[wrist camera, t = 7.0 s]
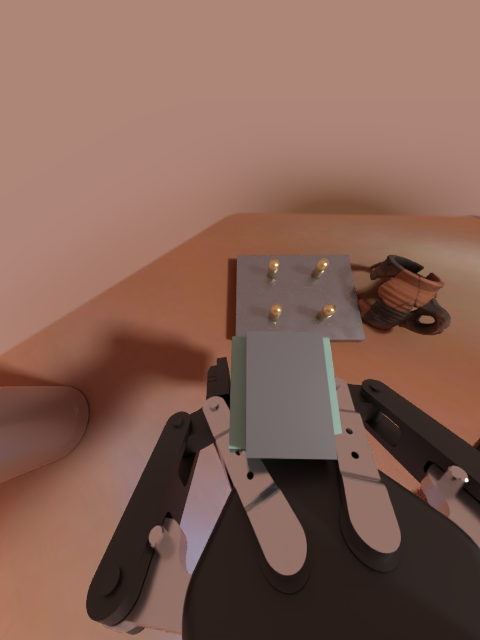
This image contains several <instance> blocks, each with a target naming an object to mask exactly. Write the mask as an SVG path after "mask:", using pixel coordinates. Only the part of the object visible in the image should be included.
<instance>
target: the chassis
mask: <svg viewBox="0 0 480 640" xmlns="http://www.w3.org/2000/svg"><path fill="white" fill-rule="evenodd" d="M246 331H287V332H322V336H323V337H324V338H329V339H330V342H361V341H363V340H365V335H364V330H363V325H362V320H361V315H360V310H359V305H358V300H357V295H356V290H355V285H354V280H353V275H352V270H351V265H350V260H349V255H237V288H236V336H246Z"/></svg>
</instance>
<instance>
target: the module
mask: <svg viewBox="0 0 480 640" xmlns="http://www.w3.org/2000/svg"><path fill="white" fill-rule="evenodd" d="M337 434H342V430H341V422H340V415H339V407H338V400H337V392H336V385H335V377H334V369H333V362H332V354H331V347H330V339H329V338H324V337H323V336H322V332H287V331H246V336H232V355H231V390H230V425H229V449H245V451H246V458H281V459H336V460H338V459H337V451H336V443H335V435H337Z"/></svg>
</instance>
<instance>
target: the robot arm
mask: <svg viewBox="0 0 480 640" xmlns="http://www.w3.org/2000/svg"><path fill="white" fill-rule="evenodd" d="M334 377H335V376H334ZM335 385H336V392H337V400H338V407H339V415H340V422H341V430H342V434H337V435H335V443H336V451H337V459H338V460H336V459H281V458H246V451H245V449H229V425H230V390H231V381H230V374H229V368H228V363H227V358H226V357H223V358H217V366H211V367H210V369H209V370H208V378H207V396H206V401H205V403H204V404H203V407H202V408H201V409H199V410H198V411H196V412H194V413H192V414H190V415H189V414H188V413H186V412H178V413H175V414H174V415H172V416H171V417H170V418H169V419H168V421H167V423H166V425H165V427H164V429H163V431H162V433H161V435H160V438H159V440H158V442H157V444H156V446H155V448H154V450H153V452H152V454H151V457H150V459H149V461H148V463H147V465H146V467H145V469H144V471H143V473H142V476H141V478H140V480H139V482H138V484H137V486H136V488H135V490H134V492H133V495H132V497H131V499H130V501H129V503H128V505H127V507H126V509H125V512H124V514H123V516H122V518H121V520H120V522H119V524H118V526H117V528H116V531H115V533H114V535H113V537H112V539H111V541H110V543H109V545H108V547H107V550H106V552H105V554H104V556H103V558H102V560H101V562H100V564H99V566H98V569H97V571H96V573H95V575H94V577H93V579H92V582H91V584H90V587H89V590H88V594H87V601H86V608H87V613H88V615H89V617H90V618H91V619H92V620H94V621H97V622H99V623H101V624H102V625H103V626H104V627H106V628H108V629H111V630H114V631H116V632H119V633H128V634H132V635H133V634H137V633H139V632H141V631H142V630H143V629H144V628H150V629H155V630H160V631H165V632H170V633H175V634H180V635H182V640H480V451H478V450H477V449H475V448H474V447H473V446H471V445H470V444H468V443H467V442H466V441H464V440H463V439H461V438H460V437H458V436H457V435H456V434H454V433H453V432H451V431H450V430H449V429H447V428H446V427H444V426H443V425H441V424H440V423H439V422H437V421H436V420H434V419H433V418H432V417H430V416H429V415H427V414H426V413H425V412H423V411H422V410H420V409H419V408H417V407H416V406H415V405H413V404H412V403H410V402H409V401H408V400H406V399H405V398H403V397H402V396H400V395H399V394H398V393H396V392H395V391H393V390H392V389H391V388H389V387H388V386H386V385H385V384H383V383H382V382H380V381H377V380H373V379H367V380H364V381H363V382H362V385H352V384H347V383H346V382H345V381H344V380H343V379H341V378H338V377H335ZM383 414H385V415H386V416H387V417H388V418H389V419H391V420H392V421H393V422H394V423H395V424H396V425H397V426H398V427H399V428H398V427H397V426H396V425H395V424H394V423H392V422H391V421H390V420H389V419H388V418H387V417H385V416H384V415H383ZM88 417H89V410H88V404H87V401H86V399H85V397H84V396H83V394H82V393H81V392H80V391H79V390H77V389H75V388H73V387H69V386H0V483H3V482H5V481H8V480H10V479H12V478H15V477H17V476H20V475H23V474H25V473H27V472H30V471H32V470H35V469H37V468H40V467H42V466H44V465H47V464H49V463H52V462H54V461H56V460H59V459H61V458H62V457H64V456H65V455H67V454H68V453H69V452H70V451H71V450H72V449H73V448H75V446H76V445H77V444H78V442H79V441H80V440H81V438H82V436H83V434H84V432H85V430H86V427H87V423H88ZM365 429H366V430H367V431H368V432H369V433H370V434H371V435H372V436H373V437H374V438H375V439H376V440H377V441H378V442H379V443H380V444H381V445H382V446H383V447H384V448H385V449H386V450H387V451H388V452H389V453H390V454H391V455H392V456H393V457H394V458H395V459H396V460H397V461H398V462H399V463H400V464H401V465H402V466H403V467H404V468H405V469H406V470H407V471H408V472H409V473H410V474H411V475H412V476H413V477H414V478H415V479H416V480H417V481H418V482H419V483H420V484H421V488H422V491H423V493H424V494H425V496H426V497H427V501H428V503H429V504H430V505H429V504H428V503H426V502H425V501H423V500H422V499H420V498H419V497H418V496H416V495H415V494H413V493H412V492H410V491H409V490H407V489H406V488H405V487H403V486H402V485H400V484H399V483H397V482H396V481H394V480H393V479H392V478H390V477H389V476H387V475H386V474H384V473H383V472H381V471H380V470H379V469H377V466H376V463H375V460H374V457H373V454H372V450H371V447H370V444H369V441H368V438H367V434H366V431H365ZM212 443H213V444H214V446H215V449H216V451H217V454H218V456H219V459H220V461H221V464H222V467H223V469H224V472H225V475H226V478H227V480H228V483H229V486H230V488H231V493H230V495H229V497H228V499H227V501H226V503H225V505H224V507H223V510H222V512H221V514H220V516H219V518H218V520H217V522H216V524H215V527H214V529H213V531H212V533H211V535H210V537H209V539H208V541H207V544H206V546H205V548H204V550H203V552H202V554H201V556H200V559H199V561H198V563H197V565H196V567H195V569H194V571H193V574H192V575H191V574H188V572H187V568H186V551H187V540H186V536H185V534H184V532H183V531H182V529H181V528H180V526H179V525H180V522H181V518H182V514H183V511H184V507H185V503H186V500H187V496H188V492H189V489H190V485H191V481H192V478H193V474H194V470H195V467H196V463H197V459H198V456H199V452H200V450H201V449H203V448H205V447H207V446H209V445H210V444H212Z"/></svg>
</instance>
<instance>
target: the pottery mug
mask: <svg viewBox="0 0 480 640" xmlns="http://www.w3.org/2000/svg"><path fill="white" fill-rule="evenodd" d="M373 268H375V269H374V271H373V272H372V273H371V274H370V279H371V280H375V279H377V278H381V277H393V278H392V279H390V280H389V281H387V282H385V283H384V284H382V285H380V286H379V288H378V295H379V297H378V298H377V300H376V302H375V303H374V305H373V306H371V305H369V304H368V303H366V302H365V301H364V300H363V299H359V300H358V305H359V310H360V315H361V318H362V319H363V320H365V321H366V322H368V323H369V324H371V325H373V326H374V327H377V328H381V329H388V328H390V327H394V326H396V325H399V327H404V328H407V329H409V330H411V331H413V332H416V333H419V334H423V335H436V334H440V333H442V332H443V329H446V328H447V327H448V326H449V325H450V322H451V318H450V315H449V314H448V312H447V311H446V310H445V309H443V308H442V307H441V306H440V305H439V304H438V303H437V300H436V299H434V298H436V296H437V291H438V290H439V289H440V288H442V287H443V286H444V282H443V281H442V280H441V279H440V278H439V277H438V276H436V275H435V274H434V273H430V274H429V275H428V276H427V277H426V278H425V277H423V276H422V275H420V274H417V273H418V272H419V271H421V270H422V269H424V267H423V266H421V265H420V264H418V263H416V262H413V261H411V260H409V259H406V258H403V257H400V256H396V255H389V256H388V257H387V259H386V260H385V261H383V262H380V263H378V264H375V265H373V266H371V267H370V268H369V269H370V270H371V269H373ZM413 306H414V307H416V308H418V309H417V310H414V311H411V312H410V310H411V309H412V308H413ZM422 315H428V316H432V317H433V318H434V319H435V322H434V323H431V324H424V323H420V321H419V318H420V317H421V316H422Z"/></svg>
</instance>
